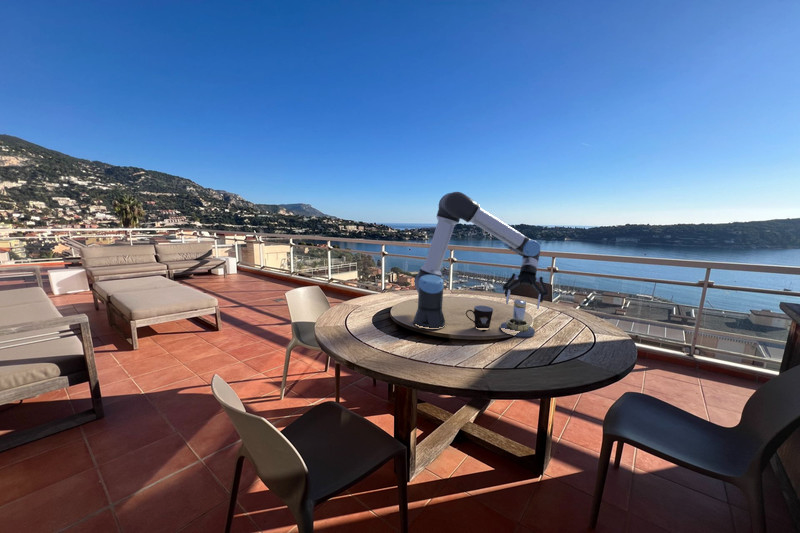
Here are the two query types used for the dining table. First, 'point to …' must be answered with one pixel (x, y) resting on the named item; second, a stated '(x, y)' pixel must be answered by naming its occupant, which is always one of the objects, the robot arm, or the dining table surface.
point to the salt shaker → (519, 312)
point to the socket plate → (522, 335)
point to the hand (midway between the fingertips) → (522, 305)
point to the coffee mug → (482, 316)
